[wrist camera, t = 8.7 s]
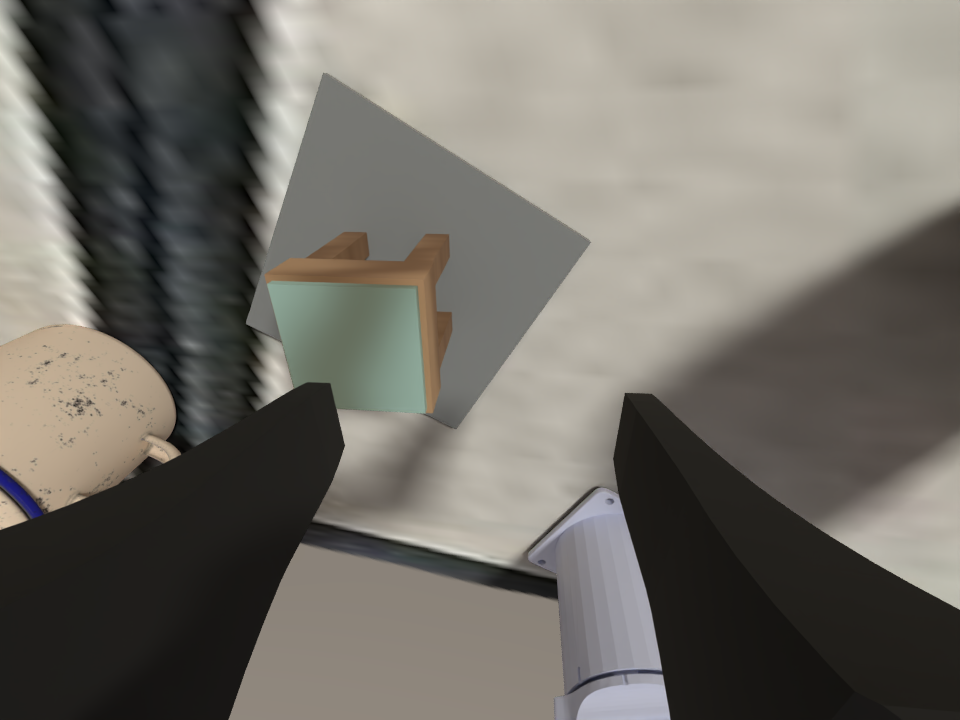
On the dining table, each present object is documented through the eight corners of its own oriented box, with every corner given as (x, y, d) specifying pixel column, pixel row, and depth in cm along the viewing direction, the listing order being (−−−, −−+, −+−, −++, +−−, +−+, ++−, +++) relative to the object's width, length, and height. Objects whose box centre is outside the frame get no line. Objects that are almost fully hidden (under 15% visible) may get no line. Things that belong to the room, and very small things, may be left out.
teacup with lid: (37, 418, 27) (-253, 603, 17) (9, 292, 22) (-409, 440, 12) (228, 480, 28) (64, 685, 18) (238, 371, 24) (26, 565, 14)
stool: (453, 229, 18) (421, 283, 13) (456, 335, 21) (431, 418, 15) (339, 227, 19) (258, 277, 13) (355, 330, 21) (294, 410, 16)
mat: (589, 240, 18) (590, 242, 18) (456, 424, 24) (455, 429, 24) (327, 73, 16) (323, 73, 16) (250, 320, 22) (245, 323, 22)
